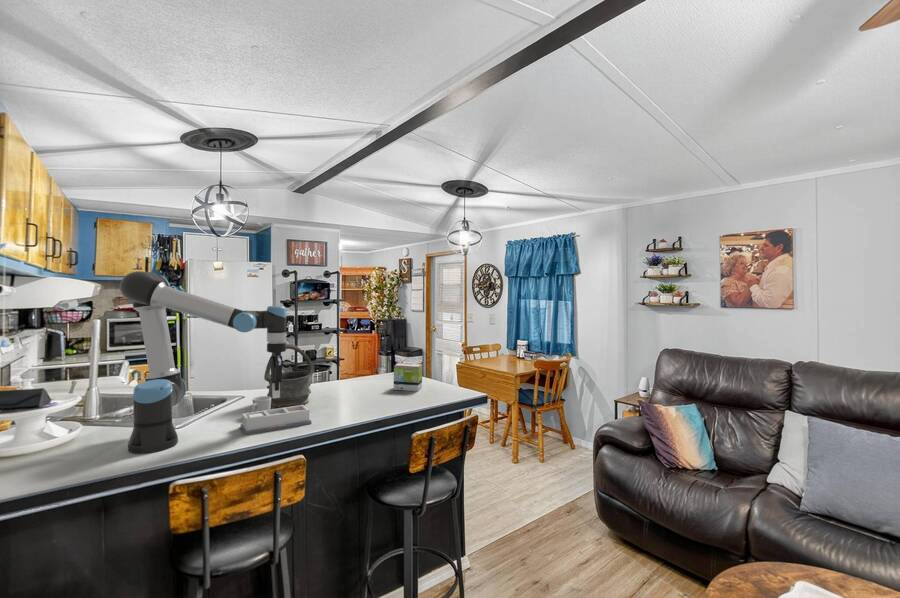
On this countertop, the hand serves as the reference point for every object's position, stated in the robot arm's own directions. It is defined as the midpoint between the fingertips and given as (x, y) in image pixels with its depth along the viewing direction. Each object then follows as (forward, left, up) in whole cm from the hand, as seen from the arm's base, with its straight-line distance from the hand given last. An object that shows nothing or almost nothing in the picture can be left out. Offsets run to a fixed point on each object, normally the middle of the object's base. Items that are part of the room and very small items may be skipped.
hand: (276, 397), depth 181 cm
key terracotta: (+8, 0, -10) cm, 13 cm away
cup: (-3, +18, -12) cm, 22 cm away
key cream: (-8, 0, -8) cm, 11 cm away
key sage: (0, 0, -10) cm, 10 cm away
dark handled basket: (+14, +34, -12) cm, 39 cm away
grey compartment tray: (0, 0, -12) cm, 12 cm away
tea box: (+80, +28, -12) cm, 86 cm away
